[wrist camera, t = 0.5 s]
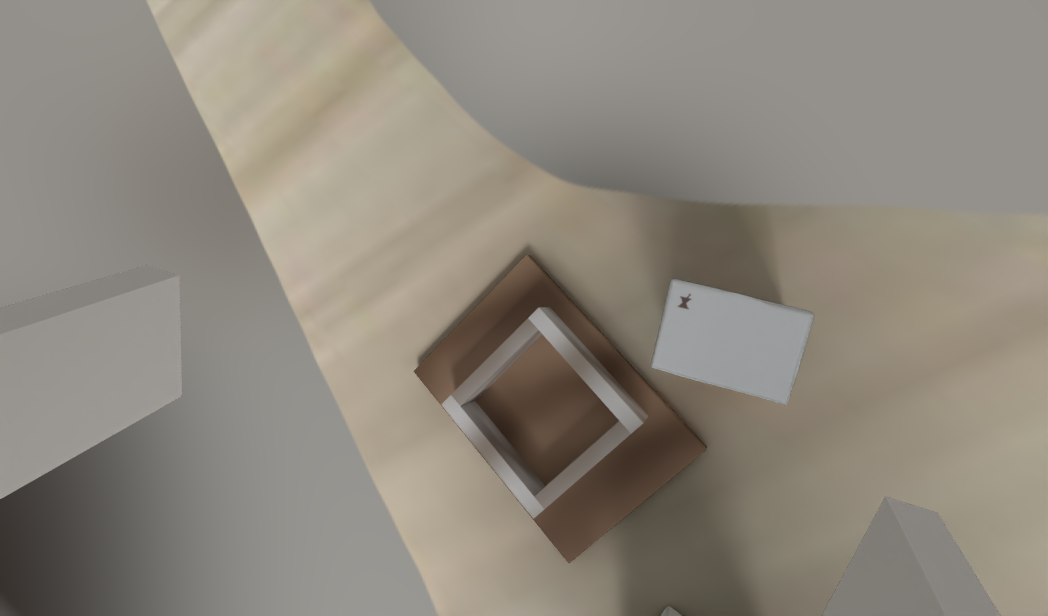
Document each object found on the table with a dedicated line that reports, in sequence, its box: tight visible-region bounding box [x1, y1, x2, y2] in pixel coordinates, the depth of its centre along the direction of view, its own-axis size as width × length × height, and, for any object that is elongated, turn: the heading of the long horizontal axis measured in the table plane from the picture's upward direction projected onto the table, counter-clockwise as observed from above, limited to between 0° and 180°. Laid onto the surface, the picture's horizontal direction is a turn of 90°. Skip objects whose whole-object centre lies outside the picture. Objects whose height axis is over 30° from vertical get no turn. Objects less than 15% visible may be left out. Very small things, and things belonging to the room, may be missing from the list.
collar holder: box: [414, 255, 707, 563], centre depth 39 cm, size 17×12×3 cm
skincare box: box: [651, 279, 814, 405], centre depth 31 cm, size 6×4×12 cm
